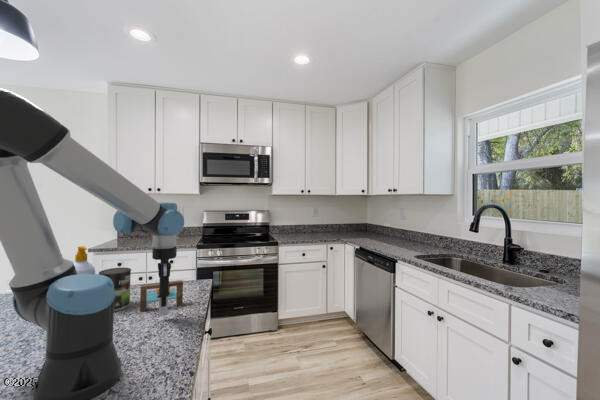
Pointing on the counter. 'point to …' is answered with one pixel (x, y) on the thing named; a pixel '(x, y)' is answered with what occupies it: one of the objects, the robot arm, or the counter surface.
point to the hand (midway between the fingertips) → (163, 314)
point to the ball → (158, 290)
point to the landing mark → (153, 297)
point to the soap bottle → (83, 262)
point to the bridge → (157, 285)
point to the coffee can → (119, 286)
